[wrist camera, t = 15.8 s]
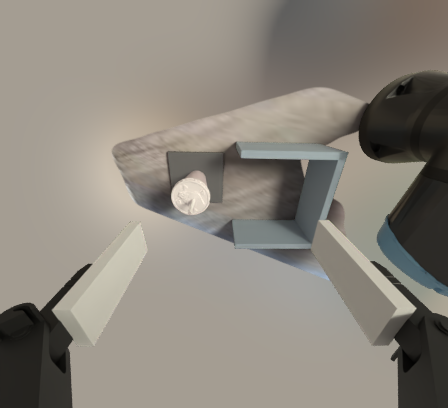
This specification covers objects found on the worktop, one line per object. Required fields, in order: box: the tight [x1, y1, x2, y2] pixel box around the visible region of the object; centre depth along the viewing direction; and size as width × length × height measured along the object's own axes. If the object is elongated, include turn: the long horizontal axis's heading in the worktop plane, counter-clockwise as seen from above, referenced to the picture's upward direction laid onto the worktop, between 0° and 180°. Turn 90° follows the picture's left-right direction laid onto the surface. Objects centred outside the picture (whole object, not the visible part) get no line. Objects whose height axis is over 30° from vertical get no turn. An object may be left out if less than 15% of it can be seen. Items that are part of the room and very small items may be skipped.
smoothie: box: [171, 171, 210, 215], centre depth 31 cm, size 6×6×14 cm
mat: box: [168, 151, 223, 203], centre depth 38 cm, size 11×11×1 cm
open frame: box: [232, 142, 348, 249], centre depth 35 cm, size 17×19×9 cm
